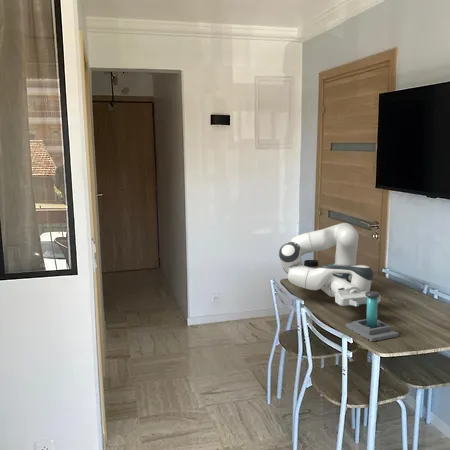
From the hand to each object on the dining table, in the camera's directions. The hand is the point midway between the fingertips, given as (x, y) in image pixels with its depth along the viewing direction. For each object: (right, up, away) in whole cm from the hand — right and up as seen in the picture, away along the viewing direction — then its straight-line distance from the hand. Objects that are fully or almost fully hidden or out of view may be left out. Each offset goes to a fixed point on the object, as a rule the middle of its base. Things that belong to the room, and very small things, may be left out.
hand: (367, 303), depth 210 cm
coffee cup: (-13, 0, +66) cm, 67 cm away
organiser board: (+1, -12, -3) cm, 12 cm away
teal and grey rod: (+1, -10, -3) cm, 11 cm away
